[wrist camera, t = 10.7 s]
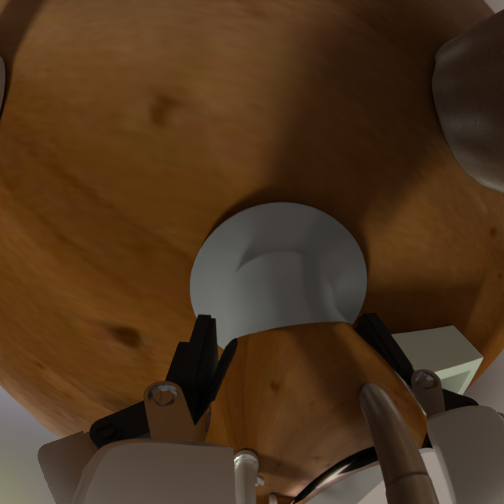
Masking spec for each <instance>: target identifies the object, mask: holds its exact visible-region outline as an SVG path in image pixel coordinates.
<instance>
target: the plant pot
mask: <svg viewBox="0 0 504 504" xmlns="http://www.w3.org/2000/svg"><path fill="white" fill-rule="evenodd" d="M435 61H436V65H435V70H434V74H433V77H432V79H431V81H432V93H433V99H434V104H435V108H436V112H437V116H438V119H439V122H440V126H441V129H442V131H443V134H444V136H445V138H446V141H447V143H448V145H449V147H450V149H451V151H452V153H453V155H454V157H455V159H456V160H457V162H458V163H459V165H460V166H461V168H462V169H463V170H464V171H465V172H466V173H467V174H468V175H470V176H471V177H472V178H474V179H475V180H476V181H477V182H478V183H480V184H481V185H482V186H485V187H487V188H490V189H493V190H496V191H499V192H501V193H504V9H503V10H502V11H500V12H498V13H496V14H494V15H492V16H491V17H489V18H487V19H485V20H484V21H482V22H480V23H478V24H477V25H475V26H473V27H472V28H470V29H468V30H467V31H465V32H463V33H461V34H460V35H458V36H456V37H455V38H453V39H451V40H450V41H448V42H446V43H445V44H444V45H442V46H441V48H440V49H439V50H438V51H437V53H436V55H435Z"/></svg>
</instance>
